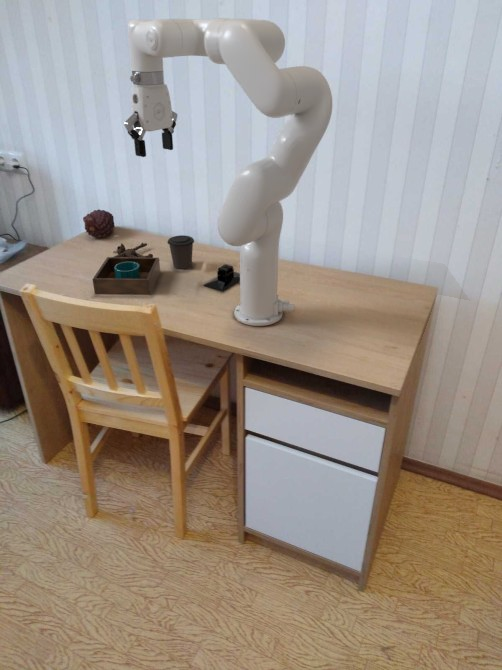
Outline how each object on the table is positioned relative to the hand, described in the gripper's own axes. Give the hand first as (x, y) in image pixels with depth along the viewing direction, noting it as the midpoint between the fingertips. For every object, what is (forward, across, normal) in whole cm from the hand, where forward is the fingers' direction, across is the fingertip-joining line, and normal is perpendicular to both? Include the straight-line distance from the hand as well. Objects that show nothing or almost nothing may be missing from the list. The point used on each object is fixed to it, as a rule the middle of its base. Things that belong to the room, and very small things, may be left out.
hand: (154, 152), depth 137 cm
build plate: (+37, +11, -14) cm, 41 cm away
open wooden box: (+37, -7, +8) cm, 39 cm away
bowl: (+36, -7, +8) cm, 38 cm away
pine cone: (+38, +15, +46) cm, 61 cm away
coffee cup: (+37, +10, +3) cm, 39 cm away
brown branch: (+37, +7, +21) cm, 43 cm away
